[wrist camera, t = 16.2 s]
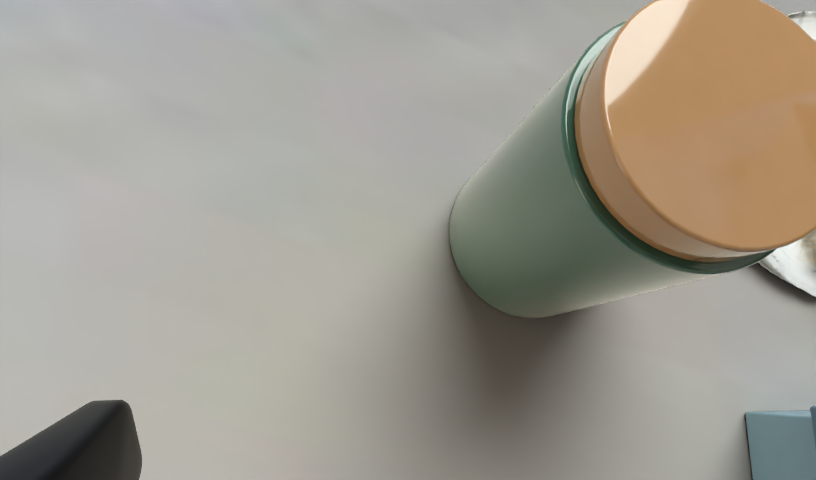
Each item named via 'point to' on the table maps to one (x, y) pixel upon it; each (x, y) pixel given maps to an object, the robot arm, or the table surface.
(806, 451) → the slate blue base plate
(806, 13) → the frog figurine
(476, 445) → the table surface
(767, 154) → the canister
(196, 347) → the table surface
